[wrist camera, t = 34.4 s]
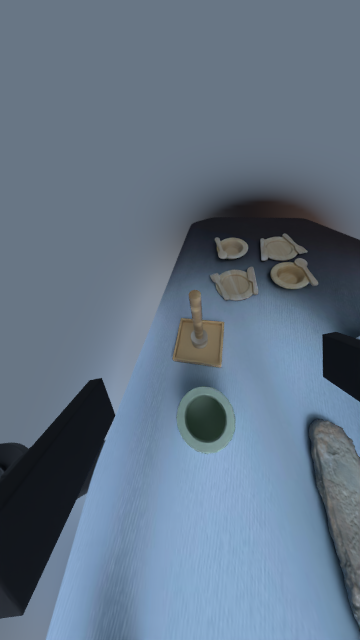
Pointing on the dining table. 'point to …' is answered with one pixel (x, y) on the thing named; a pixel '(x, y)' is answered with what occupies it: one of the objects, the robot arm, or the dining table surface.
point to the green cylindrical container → (206, 420)
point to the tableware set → (275, 248)
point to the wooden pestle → (197, 321)
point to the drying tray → (206, 355)
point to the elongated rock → (340, 498)
